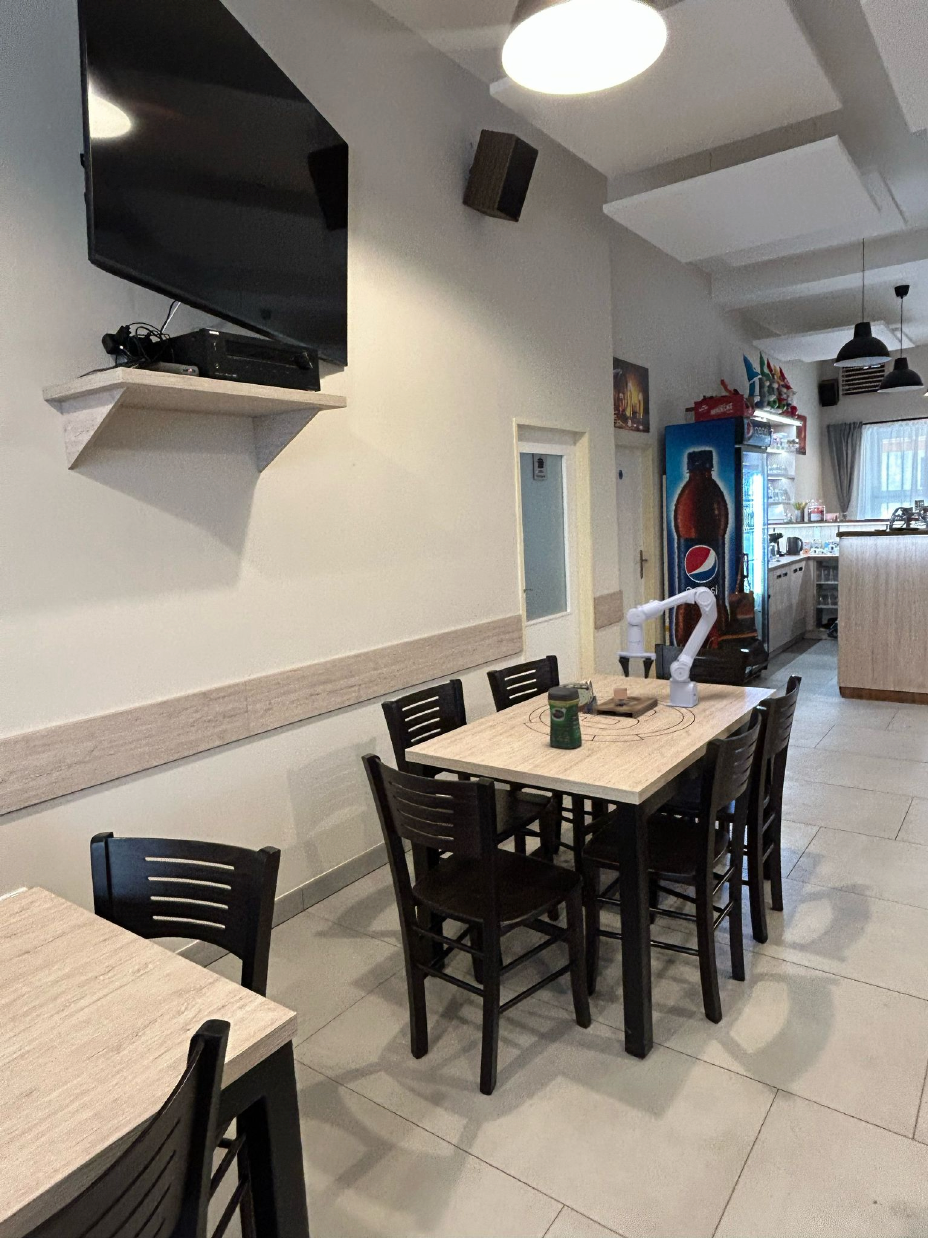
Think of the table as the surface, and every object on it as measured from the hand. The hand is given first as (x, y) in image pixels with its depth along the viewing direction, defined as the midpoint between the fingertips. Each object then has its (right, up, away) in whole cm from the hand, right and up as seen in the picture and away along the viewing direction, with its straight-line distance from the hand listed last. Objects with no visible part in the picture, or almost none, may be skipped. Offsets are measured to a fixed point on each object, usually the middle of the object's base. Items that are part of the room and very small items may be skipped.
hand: (636, 677), depth 293 cm
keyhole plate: (-5, -11, -6) cm, 14 cm away
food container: (-23, -12, -2) cm, 26 cm away
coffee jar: (-32, -18, -46) cm, 59 cm away
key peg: (-7, -12, -9) cm, 17 cm away
